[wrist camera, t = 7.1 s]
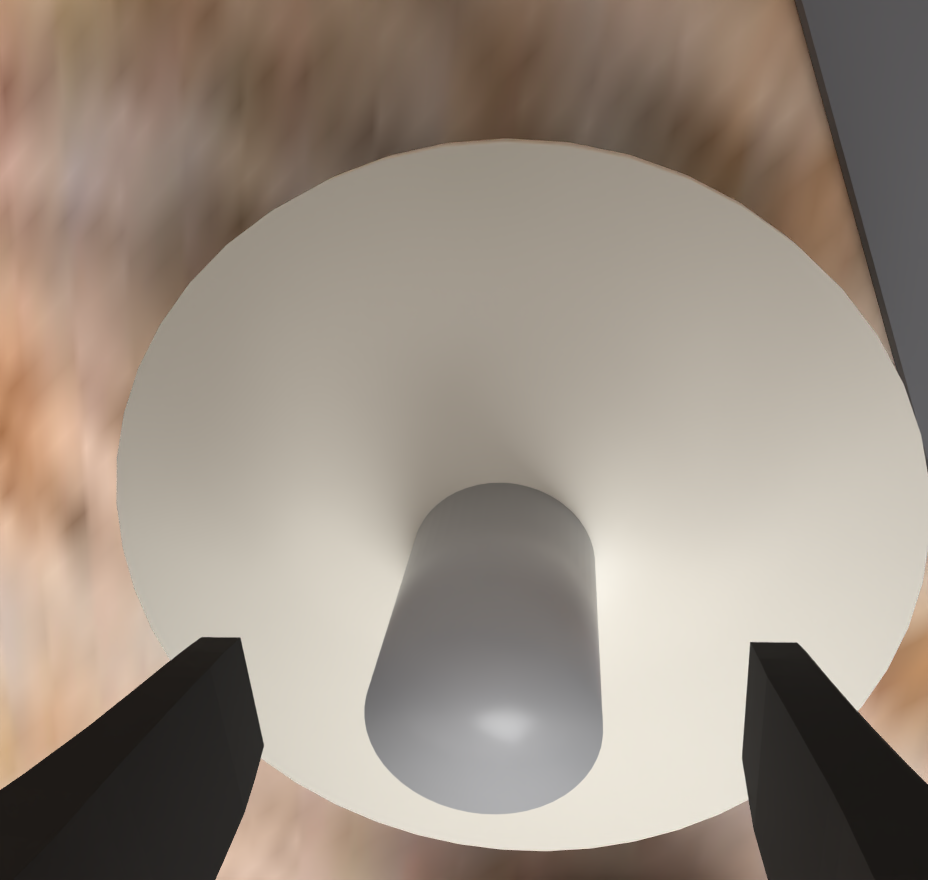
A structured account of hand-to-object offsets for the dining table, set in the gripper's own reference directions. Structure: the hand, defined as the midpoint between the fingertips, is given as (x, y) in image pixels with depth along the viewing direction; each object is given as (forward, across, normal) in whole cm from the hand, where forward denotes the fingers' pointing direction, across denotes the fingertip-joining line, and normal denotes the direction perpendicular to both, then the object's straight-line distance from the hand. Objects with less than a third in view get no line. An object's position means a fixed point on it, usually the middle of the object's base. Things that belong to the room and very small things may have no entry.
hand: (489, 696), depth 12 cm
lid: (+4, 0, 0) cm, 4 cm away
